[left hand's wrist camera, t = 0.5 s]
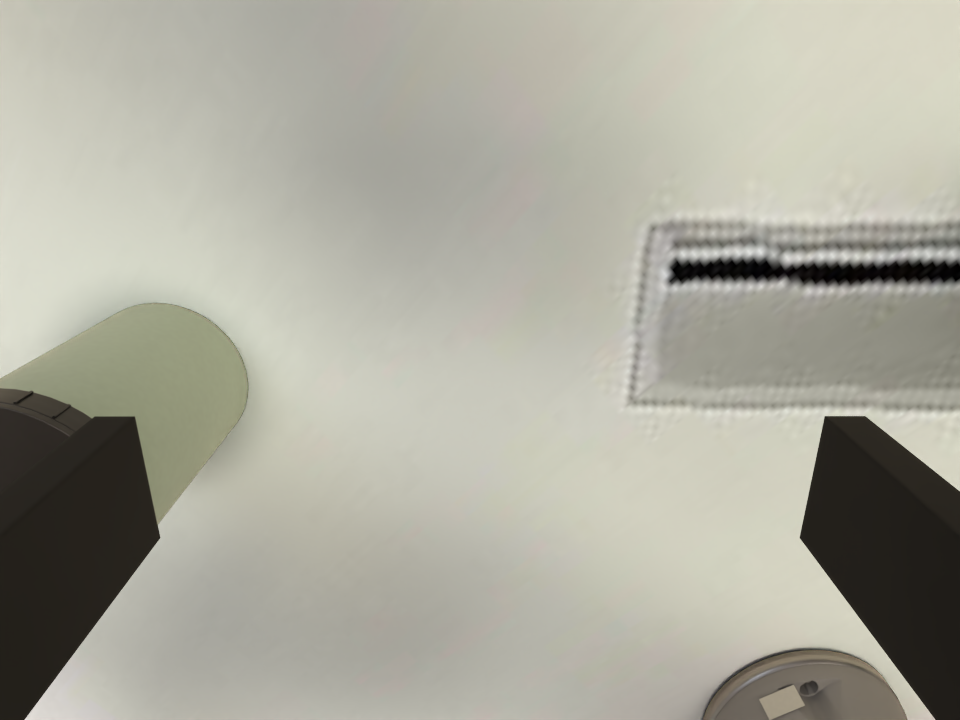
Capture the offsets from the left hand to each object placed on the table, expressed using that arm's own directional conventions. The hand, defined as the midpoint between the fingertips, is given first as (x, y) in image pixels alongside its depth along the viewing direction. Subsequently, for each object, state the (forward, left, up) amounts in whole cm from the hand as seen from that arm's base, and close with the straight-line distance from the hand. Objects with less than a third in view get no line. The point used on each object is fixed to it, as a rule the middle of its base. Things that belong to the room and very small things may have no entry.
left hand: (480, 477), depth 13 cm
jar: (+10, -20, -28) cm, 36 cm away
